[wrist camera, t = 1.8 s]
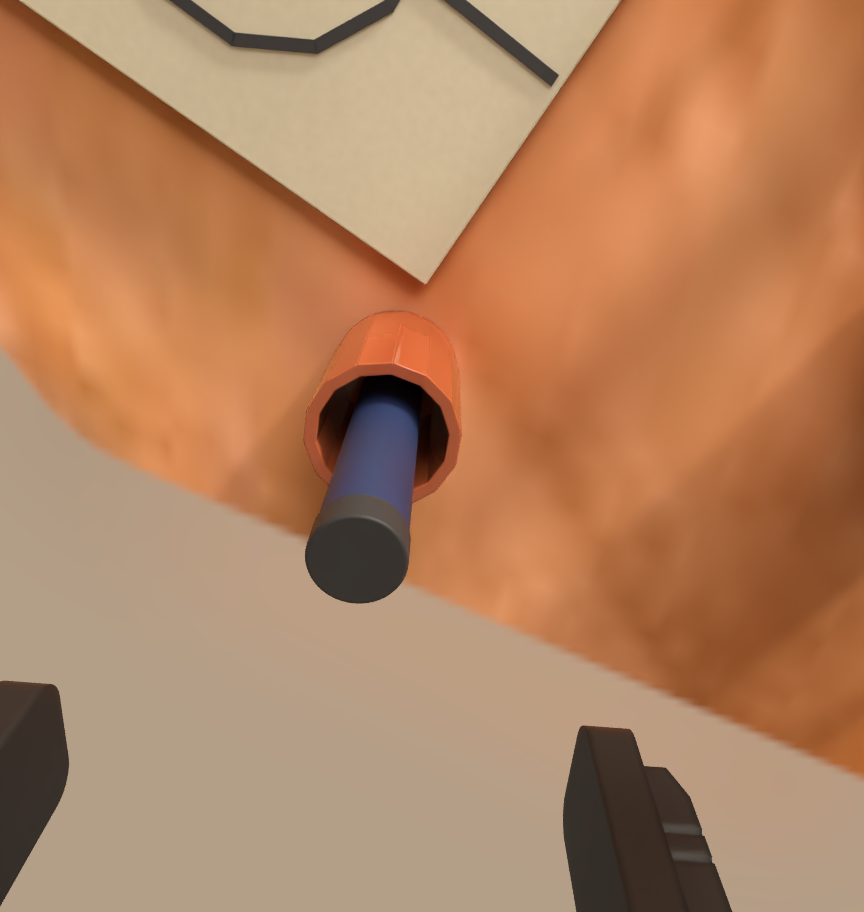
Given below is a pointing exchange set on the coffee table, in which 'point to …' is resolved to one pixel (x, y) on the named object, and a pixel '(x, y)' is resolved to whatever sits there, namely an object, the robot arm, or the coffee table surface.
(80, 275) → the coffee table surface
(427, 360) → the pen cup
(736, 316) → the coffee table surface
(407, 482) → the marker
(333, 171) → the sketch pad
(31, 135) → the coffee table surface
